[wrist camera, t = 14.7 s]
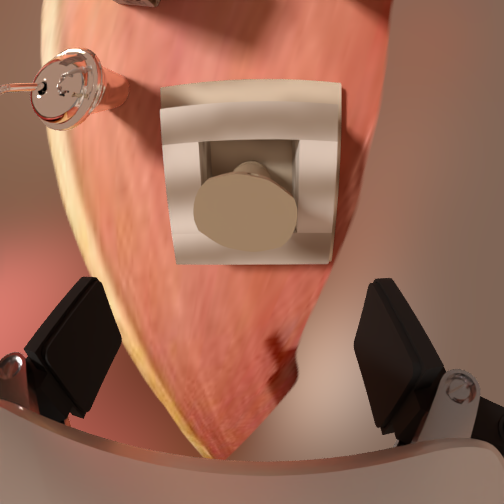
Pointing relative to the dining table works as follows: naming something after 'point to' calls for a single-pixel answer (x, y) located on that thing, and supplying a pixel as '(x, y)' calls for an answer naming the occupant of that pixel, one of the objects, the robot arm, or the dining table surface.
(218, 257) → the socket holder
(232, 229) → the handle
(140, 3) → the coffee box
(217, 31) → the dining table surface
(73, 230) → the dining table surface
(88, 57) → the cup with straw
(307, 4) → the dining table surface
